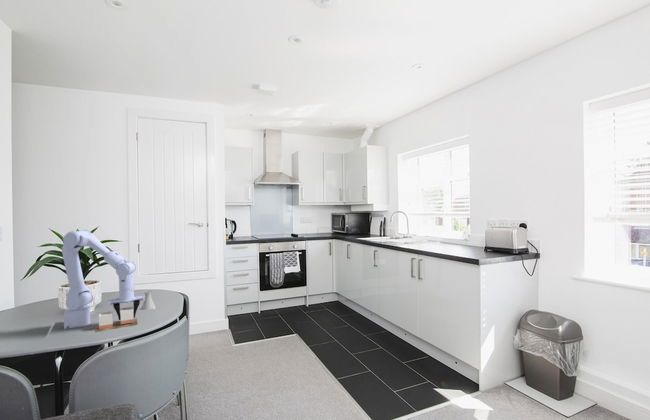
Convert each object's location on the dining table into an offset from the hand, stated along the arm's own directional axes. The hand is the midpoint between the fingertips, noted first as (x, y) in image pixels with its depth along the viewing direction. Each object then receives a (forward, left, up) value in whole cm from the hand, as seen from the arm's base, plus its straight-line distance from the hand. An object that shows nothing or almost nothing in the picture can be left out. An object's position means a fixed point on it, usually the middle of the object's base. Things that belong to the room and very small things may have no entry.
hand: (127, 318), depth 150 cm
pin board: (-4, 0, -4) cm, 5 cm away
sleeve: (0, 0, -2) cm, 2 cm away
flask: (+10, +20, -4) cm, 23 cm away
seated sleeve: (-8, 0, -2) cm, 8 cm away
